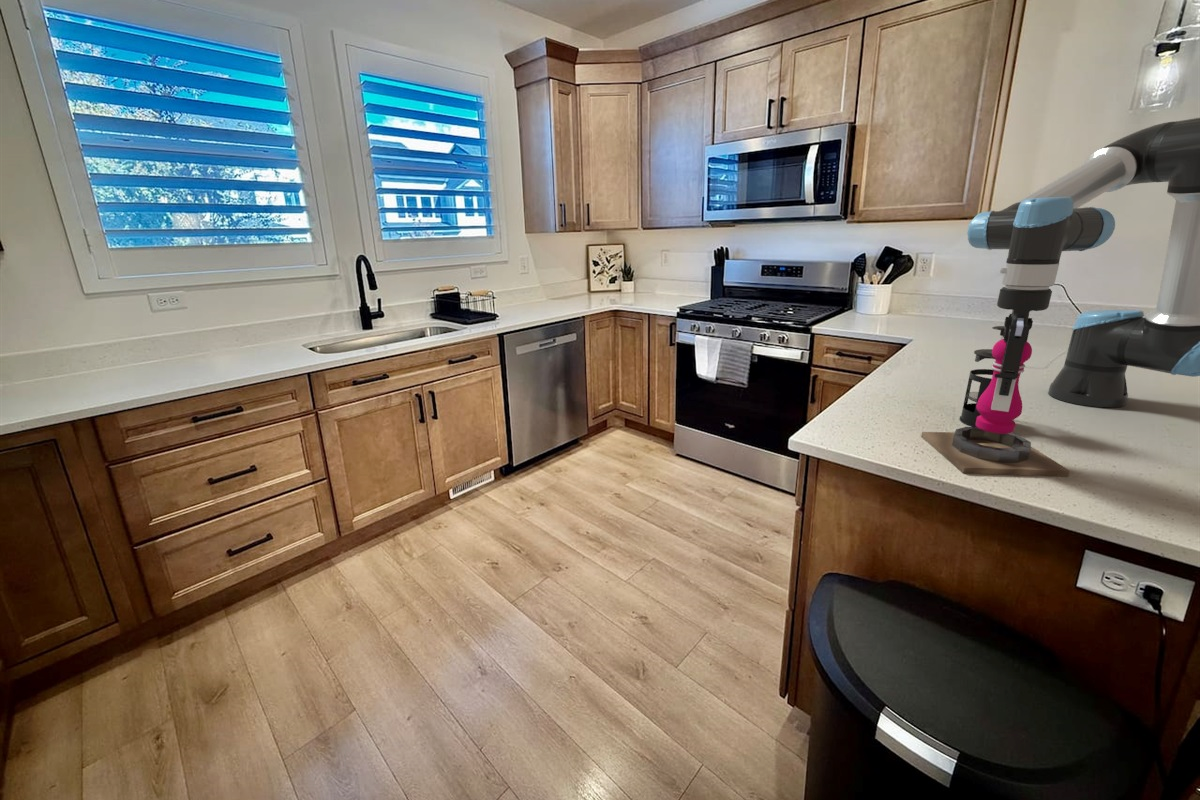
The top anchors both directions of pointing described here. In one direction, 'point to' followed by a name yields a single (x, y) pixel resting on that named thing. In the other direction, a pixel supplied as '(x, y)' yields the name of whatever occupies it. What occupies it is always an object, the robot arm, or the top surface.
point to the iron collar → (994, 454)
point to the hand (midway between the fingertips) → (999, 404)
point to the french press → (970, 410)
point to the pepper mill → (993, 418)
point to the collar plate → (968, 464)
